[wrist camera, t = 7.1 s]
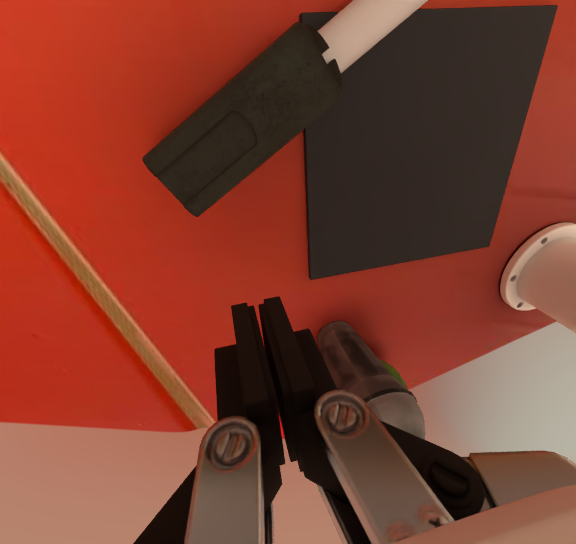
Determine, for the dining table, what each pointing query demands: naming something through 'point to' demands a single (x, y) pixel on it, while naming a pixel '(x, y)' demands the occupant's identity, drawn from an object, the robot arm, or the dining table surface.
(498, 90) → the mat
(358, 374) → the beverage cup
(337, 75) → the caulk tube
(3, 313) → the dining table surface
